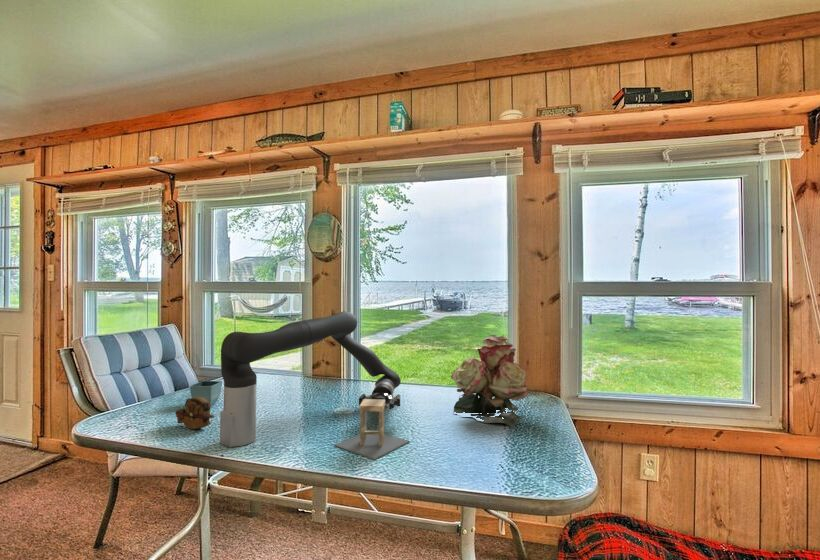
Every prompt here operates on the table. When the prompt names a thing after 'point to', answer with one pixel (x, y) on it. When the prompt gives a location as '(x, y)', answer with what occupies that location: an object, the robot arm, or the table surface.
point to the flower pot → (207, 390)
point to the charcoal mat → (372, 445)
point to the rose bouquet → (491, 382)
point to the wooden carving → (195, 413)
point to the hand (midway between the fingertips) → (377, 406)
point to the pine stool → (365, 406)
